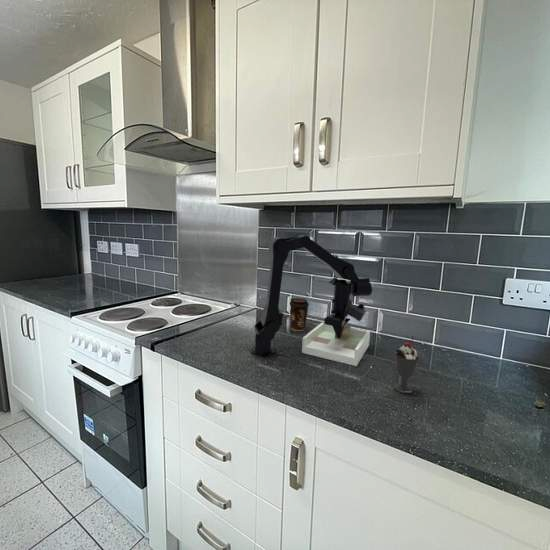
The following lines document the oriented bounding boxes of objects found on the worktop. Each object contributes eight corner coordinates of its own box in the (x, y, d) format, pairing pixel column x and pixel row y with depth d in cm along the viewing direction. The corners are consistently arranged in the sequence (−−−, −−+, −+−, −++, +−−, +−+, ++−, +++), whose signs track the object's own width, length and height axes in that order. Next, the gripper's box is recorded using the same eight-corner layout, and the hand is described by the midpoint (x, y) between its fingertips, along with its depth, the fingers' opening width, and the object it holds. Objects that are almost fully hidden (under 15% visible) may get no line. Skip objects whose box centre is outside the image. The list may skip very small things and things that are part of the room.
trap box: (356, 366, 95) (357, 349, 94) (301, 352, 104) (302, 337, 103) (368, 345, 112) (370, 331, 112) (321, 335, 121) (322, 322, 120)
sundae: (415, 385, 84) (421, 335, 82) (417, 398, 78) (424, 344, 76) (390, 381, 86) (395, 331, 84) (390, 392, 80) (396, 340, 78)
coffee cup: (284, 326, 130) (285, 297, 128) (300, 324, 134) (302, 296, 132) (293, 333, 123) (295, 302, 121) (311, 330, 126) (312, 301, 124)
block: (346, 340, 110) (347, 329, 109) (334, 338, 112) (335, 326, 111) (349, 336, 114) (350, 325, 113) (338, 334, 116) (338, 323, 115)
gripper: (358, 305, 95) (354, 351, 97) (370, 295, 111) (366, 334, 113) (325, 300, 100) (322, 344, 102) (340, 291, 116) (338, 329, 118)
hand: (338, 338), depth 109 cm, fingers closed
